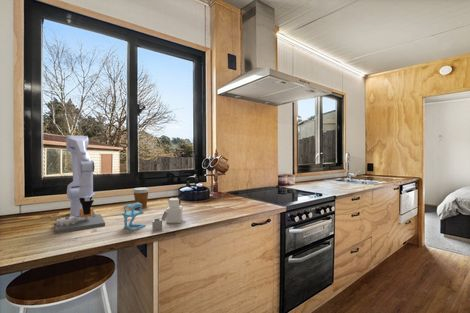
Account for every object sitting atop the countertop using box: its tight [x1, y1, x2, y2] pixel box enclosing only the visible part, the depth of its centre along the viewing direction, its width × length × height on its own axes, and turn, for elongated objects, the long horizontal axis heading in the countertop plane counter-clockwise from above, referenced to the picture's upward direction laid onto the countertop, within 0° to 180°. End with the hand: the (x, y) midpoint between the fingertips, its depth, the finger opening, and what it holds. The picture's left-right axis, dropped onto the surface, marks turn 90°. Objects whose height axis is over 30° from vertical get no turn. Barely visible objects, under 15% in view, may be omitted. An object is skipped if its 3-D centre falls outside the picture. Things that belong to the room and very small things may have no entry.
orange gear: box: [79, 206, 94, 217], centre depth 116 cm, size 6×6×4 cm
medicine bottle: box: [165, 196, 183, 224], centre depth 122 cm, size 7×7×12 cm
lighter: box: [151, 210, 168, 232], centre depth 110 cm, size 7×2×8 cm, turn 125°
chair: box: [122, 202, 146, 232], centre depth 111 cm, size 8×8×12 cm
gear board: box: [55, 210, 106, 234], centre depth 115 cm, size 18×19×4 cm
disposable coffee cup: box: [132, 186, 150, 210], centre depth 149 cm, size 10×10×12 cm
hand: (86, 212), depth 116 cm, fingers closed on orange gear, 6 cm apart
